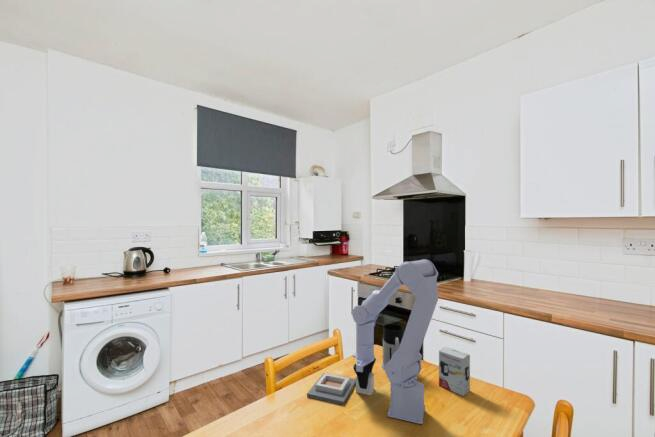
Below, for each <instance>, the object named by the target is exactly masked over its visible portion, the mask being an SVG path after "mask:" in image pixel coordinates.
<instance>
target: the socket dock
mask: <svg viewBox="0 0 655 437" xmlns="http://www.w3.org/2000/svg"><path fill="white" fill-rule="evenodd" d="M354 387H356V378H352V377H348V376H347V377H346V376H341V375H336V374H331V373H326V372H323V373H322V375H321V376H319V378H318V380H316V382H315V383H314V384H313V385H312V386H311V388H310V389H309V390H308V392H307V393H306V397H307V398H311V399H315V400H320V401H325V402H328V403H333V404H337V405H342V406H344V405H345V404H346V401H347V400H348V399H349V396H350V394H351V393H352V392H353V389H354Z"/></svg>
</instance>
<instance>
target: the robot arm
mask: <svg viewBox="0 0 655 437" xmlns="http://www.w3.org/2000/svg"><path fill="white" fill-rule="evenodd" d="M438 277H439V272H438V270H437V268H436V266H435V264H434V263H433V262H432V261H431V260H428V259H425V258H423V259H420V260H419V259H418V260H411V261H403V262H402V263H401V264H400V265H399V266H397V267H396V268H395V270H394V273H393V274H392V275H391V277H390V278H389V279H388V280H387V281H386V282H385V283H384V285H382V287H381V288H380V290H379V289H375V290H371V291H370V292H369V296H368V297H366V299H364V300H362V302H361V305H356V306H354V308H353V310H352V314H351V317H352V319H353V322H354V323H355V347H356V348H355V351H356V352H353V354H352V358H355V364H354V365H353V368H352V369H353V371H354V373H355V376H356V375H357V378H358V382H359V386H360V388H362V389H366V388H367V385H368V378H369V374H370V373H373V368H374V365H375V363H376V361H377V359H376V357H375V344H374V342H375V339H374V338H375V336H374V335H375V326H376V321H377V319H378V317H379V314H380V313H381V312H382V311H383V310H384V309H385V308H386V307H387V306H388V305H389V303H390V302H389V299H390V297H392V296H393V295H394V294H395V293H396V292H397V291H399V289H401V288H402V287H403V286H405V287H406V289H407V290H408V291H409V292H410V293H411V294H412V295H413V297H414V298H415V299H414V303H413V306H412V307H411V308H412V309H411V312H410V314H409V318H408V321H407V324H406V326H405V330H404V331H403V338H402V341H401V344H400V347H399V348H398V349H397V350H396V352H395V353H394V354H393V355H392V358H391V360H390V361H388V362H387V363H386V366H385V370H384V371H385V374H386V377H387V379H388V382H390V404H389V406H388V410H387V414H386V415H387V417H388V418H392V419H397V420H402V421H406V422H411V423H413V424H420V425H423V424H424V415H425V412H426V404H425V384H424V383H422V382H419V381H418V380H417V379H418V375H419V374H420V373H421V371H422V360H423V355H422V354H421V352H420V351H421V348H422V345H423V342H424V339H425V337H426V335H427V332H428V329H429V326H430V323H431V321H432V318H433V316H434V312H435V309H436V307H437V305H438V301H439V288H438V283H437V282H438V281H437V279H438Z"/></svg>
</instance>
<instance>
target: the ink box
mask: <svg viewBox="0 0 655 437" xmlns="http://www.w3.org/2000/svg"><path fill="white" fill-rule="evenodd" d="M438 386H439V387H442V388H444V389H446V390H449V391H451V392H453V393H455V394H458V395H460V396H462V397H463V396H466V395H467V394H469V392H471V356H470V354H469V353H467V352H464V351H461V350H457V349H455V348H452V347H449V346H446V347H445V346H444V347H443V348H441V349H439V351H438Z"/></svg>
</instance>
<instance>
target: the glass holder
mask: <svg viewBox="0 0 655 437" xmlns="http://www.w3.org/2000/svg"><path fill="white" fill-rule="evenodd" d="M382 329H383V330H382V331H383V332H382V334H383V335H382V363H381V369H383V370H384V371H385V366H386V363H387V362H388V361H390V360H391V358H392V355H393V354H394V353H395V352H396V350H397V349H398V348H399V347H400V344H401V341H402V338H403V335H404V326H402V325H401V324H395V323H388V324H384V325H383V328H382Z"/></svg>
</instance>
